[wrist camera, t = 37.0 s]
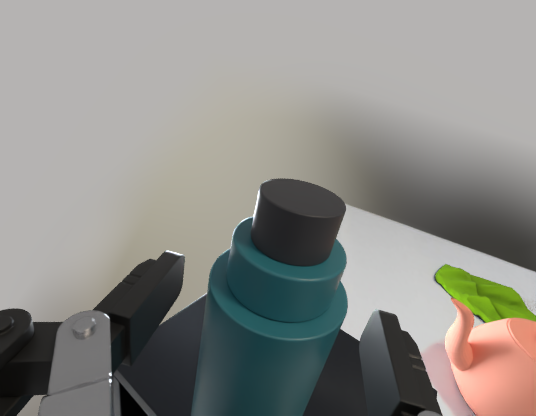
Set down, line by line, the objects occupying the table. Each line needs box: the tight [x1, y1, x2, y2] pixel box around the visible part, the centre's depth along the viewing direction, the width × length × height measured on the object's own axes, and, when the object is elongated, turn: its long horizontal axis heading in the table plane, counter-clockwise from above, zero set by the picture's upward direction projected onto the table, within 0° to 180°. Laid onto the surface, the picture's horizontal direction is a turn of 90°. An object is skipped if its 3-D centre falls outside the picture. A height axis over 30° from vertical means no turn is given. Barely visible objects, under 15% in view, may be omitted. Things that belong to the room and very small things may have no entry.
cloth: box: [435, 264, 536, 323], centre depth 54 cm, size 20×22×2 cm
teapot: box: [445, 298, 536, 416], centre depth 34 cm, size 22×15×12 cm
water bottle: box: [191, 179, 348, 416], centre depth 10 cm, size 4×4×13 cm
